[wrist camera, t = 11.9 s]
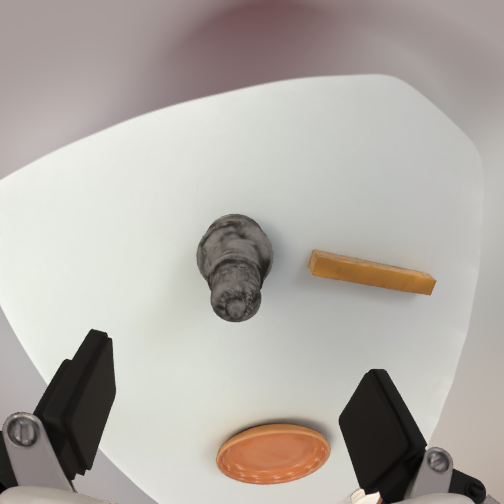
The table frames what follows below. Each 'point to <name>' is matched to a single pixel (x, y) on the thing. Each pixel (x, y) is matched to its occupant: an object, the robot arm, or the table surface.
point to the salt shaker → (235, 265)
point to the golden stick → (369, 273)
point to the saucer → (273, 454)
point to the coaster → (364, 497)
